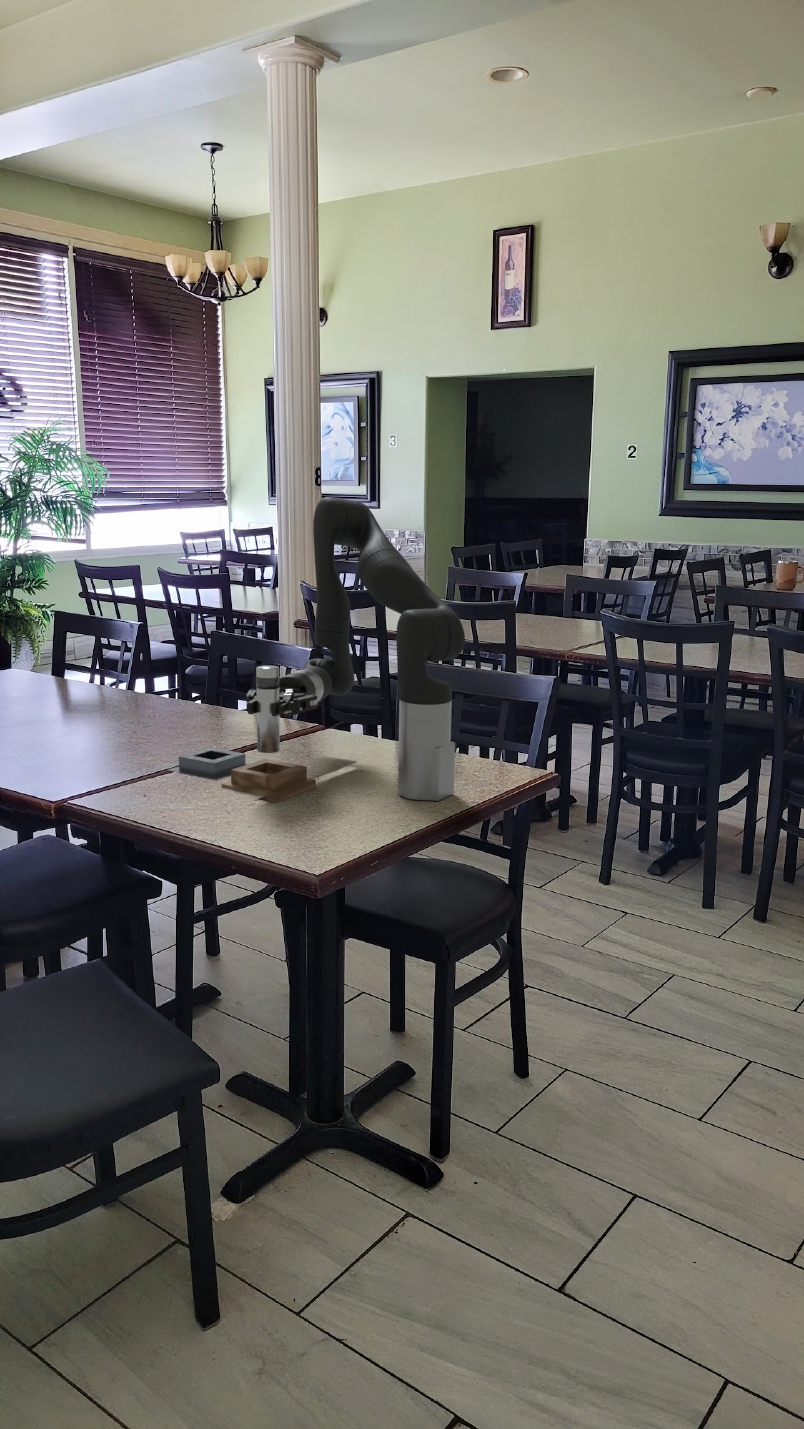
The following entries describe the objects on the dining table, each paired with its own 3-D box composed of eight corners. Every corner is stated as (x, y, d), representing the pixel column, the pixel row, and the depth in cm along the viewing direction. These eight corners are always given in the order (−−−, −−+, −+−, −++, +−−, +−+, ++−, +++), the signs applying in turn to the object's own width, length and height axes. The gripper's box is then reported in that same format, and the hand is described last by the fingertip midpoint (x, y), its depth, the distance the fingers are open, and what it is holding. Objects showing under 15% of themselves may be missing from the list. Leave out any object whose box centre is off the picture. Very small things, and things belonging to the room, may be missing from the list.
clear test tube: (284, 749, 187) (284, 667, 184) (270, 754, 184) (269, 670, 180) (266, 746, 189) (266, 664, 186) (252, 750, 186) (251, 667, 182)
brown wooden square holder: (315, 787, 190) (315, 766, 189) (275, 803, 179) (274, 780, 179) (264, 777, 196) (263, 756, 195) (221, 792, 186) (221, 770, 185)
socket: (257, 770, 200) (257, 753, 199) (215, 784, 190) (215, 766, 189) (209, 761, 206) (209, 744, 205) (166, 775, 196) (166, 757, 195)
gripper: (263, 669, 199) (224, 685, 183) (333, 674, 195) (299, 691, 179) (263, 707, 201) (224, 727, 185) (333, 713, 197) (299, 733, 181)
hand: (261, 709), depth 182 cm, fingers closed on clear test tube, 4 cm apart
